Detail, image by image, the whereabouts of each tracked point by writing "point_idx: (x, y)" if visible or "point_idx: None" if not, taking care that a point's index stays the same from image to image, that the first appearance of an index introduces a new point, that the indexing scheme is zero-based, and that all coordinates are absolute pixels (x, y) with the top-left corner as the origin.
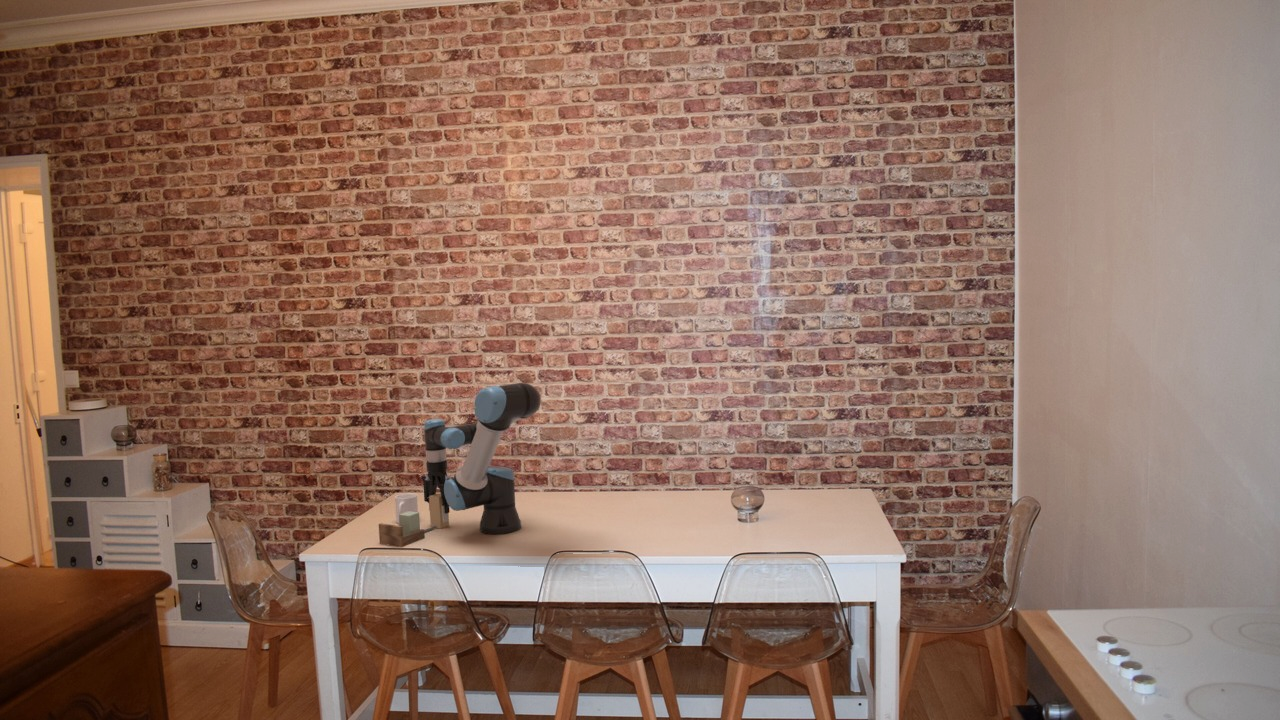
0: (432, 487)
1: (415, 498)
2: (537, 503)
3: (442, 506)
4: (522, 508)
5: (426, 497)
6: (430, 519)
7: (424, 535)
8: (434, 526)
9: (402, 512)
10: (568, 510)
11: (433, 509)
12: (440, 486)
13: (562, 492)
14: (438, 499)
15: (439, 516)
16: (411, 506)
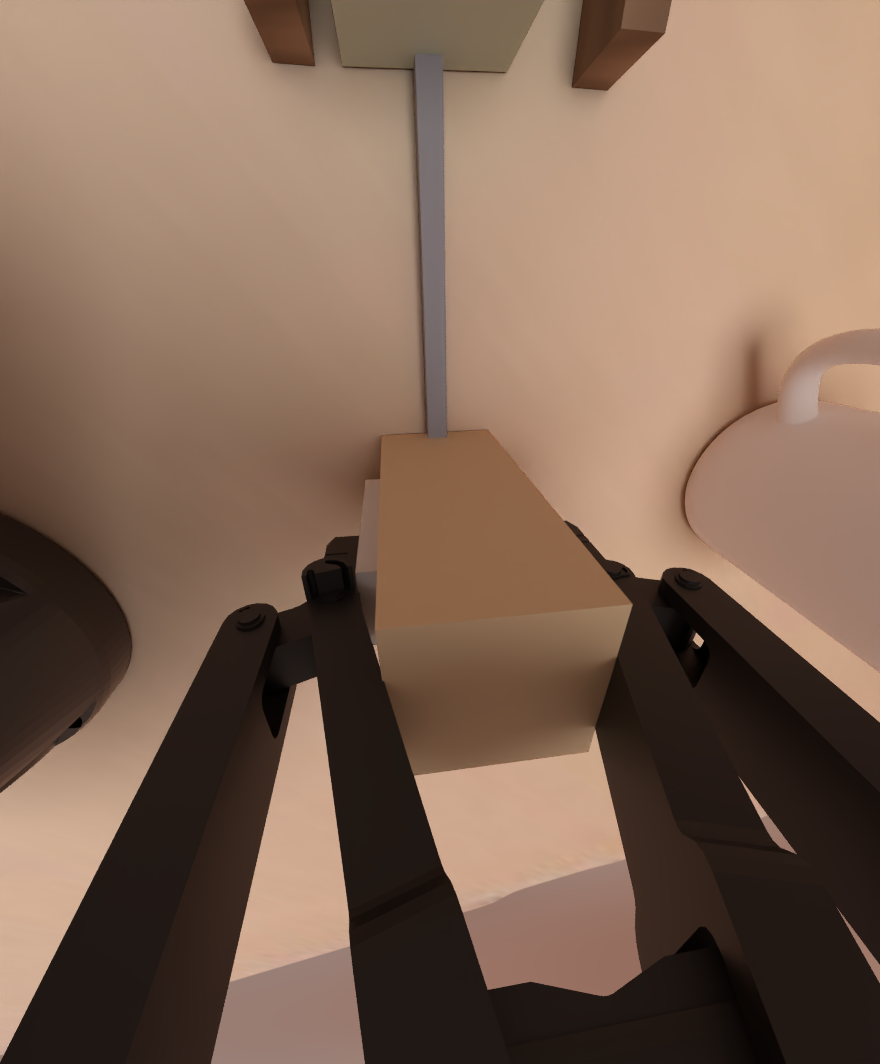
0: (682, 834)
1: (863, 613)
2: (279, 887)
3: (367, 563)
4: (273, 843)
5: (696, 609)
6: (503, 451)
7: (264, 42)
8: (432, 418)
9: (862, 428)
10: (51, 897)
11: (481, 498)
12: (357, 969)
13: (316, 952)
14: (392, 596)
15: (386, 472)
16: (823, 515)
